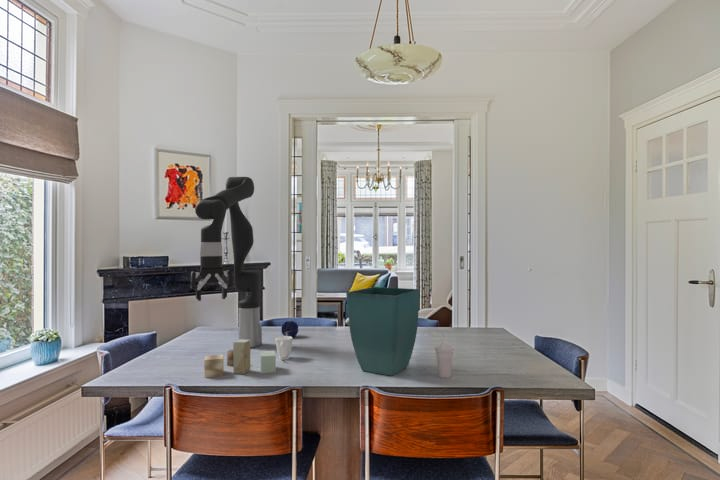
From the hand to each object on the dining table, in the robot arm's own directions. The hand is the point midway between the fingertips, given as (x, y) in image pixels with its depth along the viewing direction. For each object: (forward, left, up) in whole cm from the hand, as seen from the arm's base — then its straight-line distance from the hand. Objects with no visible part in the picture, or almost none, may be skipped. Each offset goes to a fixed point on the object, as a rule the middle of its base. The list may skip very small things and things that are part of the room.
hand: (211, 299), depth 156 cm
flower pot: (-43, +45, -26) cm, 67 cm away
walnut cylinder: (-10, -2, -26) cm, 27 cm away
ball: (-53, -25, -26) cm, 63 cm away
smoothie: (-51, +65, -26) cm, 86 cm away
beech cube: (+1, +4, -26) cm, 26 cm away
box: (-7, +9, -26) cm, 28 cm away
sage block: (-14, +14, -26) cm, 33 cm away
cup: (-27, +6, -26) cm, 37 cm away
